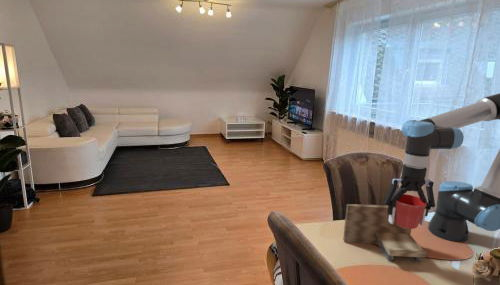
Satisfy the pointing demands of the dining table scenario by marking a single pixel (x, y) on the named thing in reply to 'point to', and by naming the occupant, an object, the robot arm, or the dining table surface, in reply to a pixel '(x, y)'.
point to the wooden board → (368, 223)
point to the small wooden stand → (399, 246)
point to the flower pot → (409, 211)
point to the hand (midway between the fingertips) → (405, 223)
